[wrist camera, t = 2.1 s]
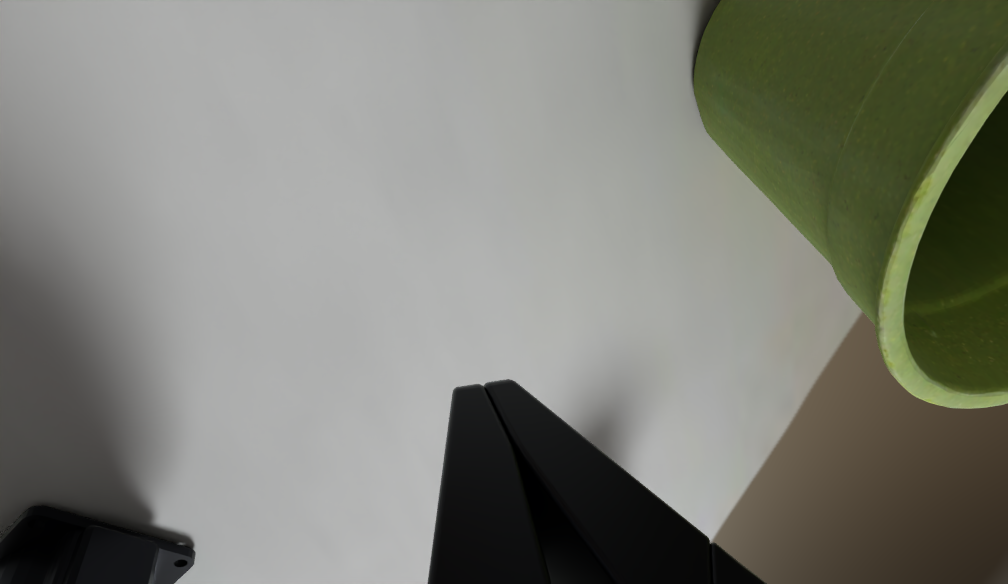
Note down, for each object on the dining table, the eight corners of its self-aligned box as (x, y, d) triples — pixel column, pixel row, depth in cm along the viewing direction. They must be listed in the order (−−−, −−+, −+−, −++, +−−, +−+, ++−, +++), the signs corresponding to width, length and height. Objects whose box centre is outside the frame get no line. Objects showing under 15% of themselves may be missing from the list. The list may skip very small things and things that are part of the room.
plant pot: (618, -125, 16) (1037, -163, 7) (981, -186, 18) (1694, -279, 9) (623, 246, 23) (835, 473, 14) (884, 175, 24) (1224, 334, 15)
